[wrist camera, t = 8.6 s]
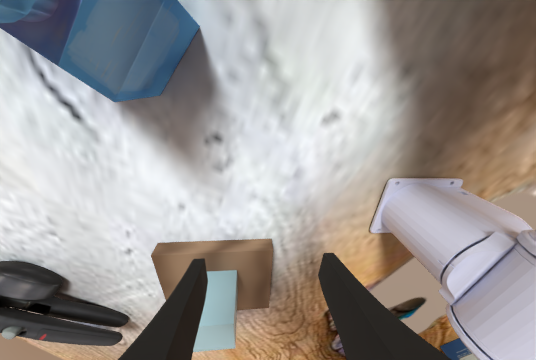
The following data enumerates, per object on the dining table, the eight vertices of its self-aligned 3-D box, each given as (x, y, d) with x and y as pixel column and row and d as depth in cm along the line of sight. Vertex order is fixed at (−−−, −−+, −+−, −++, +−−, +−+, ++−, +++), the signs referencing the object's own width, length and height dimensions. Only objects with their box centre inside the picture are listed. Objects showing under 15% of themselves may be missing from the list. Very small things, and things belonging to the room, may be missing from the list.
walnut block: (270, 235, 25) (273, 250, 23) (267, 291, 31) (268, 307, 28) (159, 239, 24) (151, 255, 21) (176, 297, 29) (171, 315, 27)
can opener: (-18, 275, 23) (-91, 328, 18) (11, 247, 22) (-60, 296, 17) (116, 327, 31) (90, 375, 26) (145, 309, 29) (123, 356, 24)
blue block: (236, 270, 24) (233, 323, 19) (237, 294, 26) (235, 348, 21) (195, 271, 23) (180, 327, 18) (200, 296, 26) (188, 352, 20)
